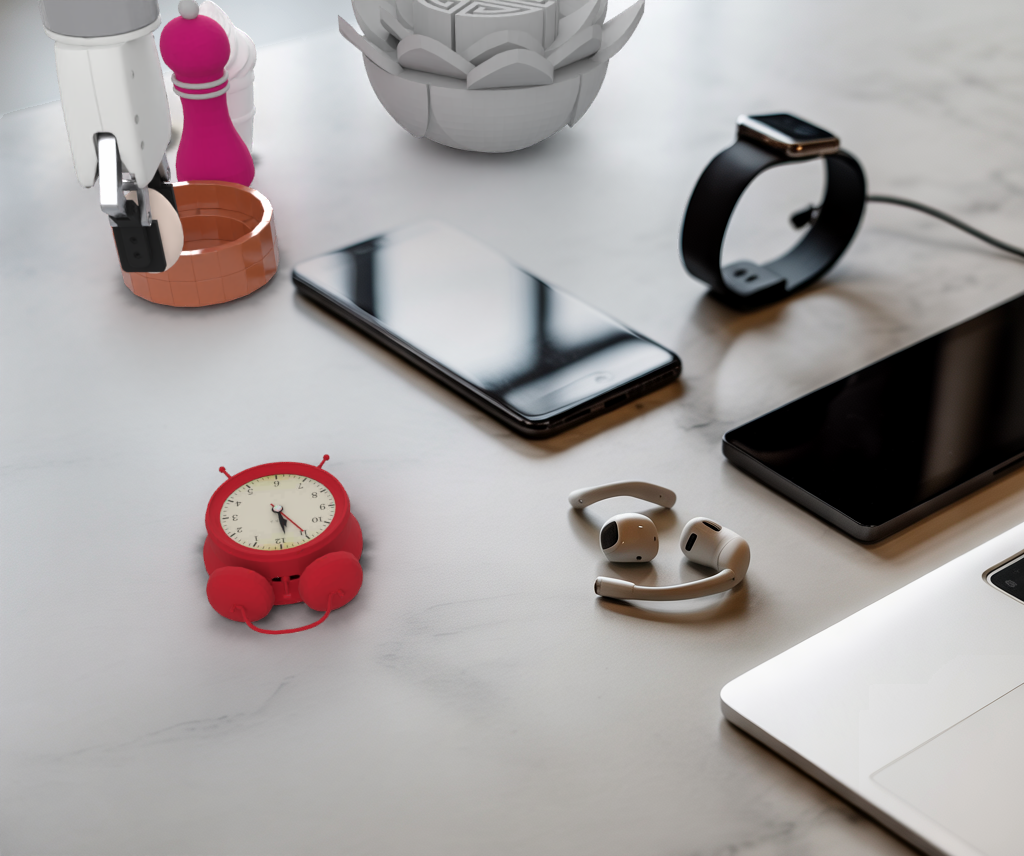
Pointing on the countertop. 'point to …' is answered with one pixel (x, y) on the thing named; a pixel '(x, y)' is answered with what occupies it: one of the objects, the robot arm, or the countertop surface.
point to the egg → (164, 225)
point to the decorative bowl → (487, 65)
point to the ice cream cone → (237, 72)
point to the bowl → (214, 247)
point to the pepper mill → (204, 99)
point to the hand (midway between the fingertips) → (152, 249)
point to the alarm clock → (281, 543)
